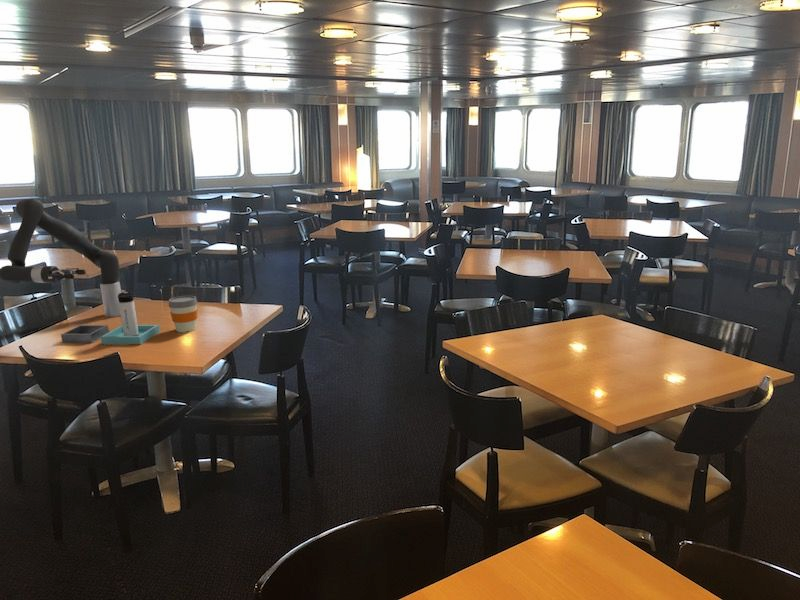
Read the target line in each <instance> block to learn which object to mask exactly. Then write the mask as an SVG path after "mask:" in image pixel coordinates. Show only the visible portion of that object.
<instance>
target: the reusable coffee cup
mask: <svg viewBox="0 0 800 600" xmlns="http://www.w3.org/2000/svg"><path fill="white" fill-rule="evenodd" d="M197 304H198V301H197V296H195V295H181V296H175V297H172V298H169V299H168V307H169V309H170V315H171V320H172V322H173V324H174V327H175V332H177V331H178V332H177V333H181V332H183V333H188V332H187V331H191V332H193V331H192V330H194V329H195V330H197V319H198V308H197ZM195 330H194V331H195Z"/></svg>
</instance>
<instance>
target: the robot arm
mask: <svg viewBox="0 0 800 600" xmlns="http://www.w3.org/2000/svg"><path fill="white" fill-rule="evenodd" d="M15 205H16V206H15V211H16V213H17V214H18V216H19V217H21V218H22V219H21V223H20V226H19V228H18V230H17V232H16V234H15V235H14V237H13V239H12V241H11V243H10V246H9V250H8V253H7V260H8V261H10V262H11V265H9V264H7V265H4V266H2V267H1V268H0V280H2V281H4V282H8V283H11V284H15V285H18V284H20V283H22V282H23V283H24V282H25V283H39V284H40V283H42V284H50V283H51V284H53V283H54V284H56V283H58V282H59V281H60V282H61V281H62V280H73V279H75V276H78V275H81V276H83V275H86V273H87V271H86V269H80V268H79V267H75V268H74V267H73V268H72V267H71V268H69V267H68V268H67V267H66V268H61V269H59V268H58V267H57V266H56V265H38V266H26V258H27V255H28V251H29V248H30V244H31V242H32V239H33V235H34V233H35V231H36V229H37V227H39V228H40V229H42V230H44V231H45V232H46V233H47V234H48V235H50V236H52V237H53V238H55V239H56V240H57V241H59V242H60V243H61V244H64V245H65V246H66V247H68V248H69V249H71V250H74V251H75V252H77V253H79V254H80V255H82V256H84V258H86V259H88V260H89V261H90V262H91V263H93V265H95V267H97V268H98V269H100V277H99V280H98V281H99V287H100V292H101V298H102V304H103V310H104V311H103V312H104V316H105V317H106V318H113V317H121V314H120V307H119V300H118V295H119V293H122V289H121V282H120V276H121V271H120V262H119V258H118V256H117V255H116V254H115V253H114V252H111V251H107V250H104V249H102V248H100V247H98V246H97V245H95V244H94V243H92V242H91V241H90V239H88V238H87V236H85V235H84V234H83V233H82V232H81V231H80V230H78V229H77V228H76V227H74V226H73V225H71V224H70V223H67V222H65V221H64V220H61V219H59V218H57V217H53V216H51V215H50V214H48V213H47V212H46V211H44V210H45V208H44V204H43V203H42V202H41V200H39V199H38V198H26V199H25V198H24V199H22V200H19V201H18V202H17V203H16V204H15Z"/></svg>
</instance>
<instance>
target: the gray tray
mask: <svg viewBox="0 0 800 600" xmlns="http://www.w3.org/2000/svg"><path fill="white" fill-rule="evenodd" d="M109 332H110V331H109V325H108V324H101V325H100V324H90V325H89V324H80V325H77V326H75V327H73V328H70V329H69V330H67V331H65V332H63V333H61V334H60V337H61V342H62V344H93V343H95V342H96V341H98V340H101V337H102V336H103V335H105V334H107V333H109ZM94 341H95V342H94ZM92 342H93V343H92Z"/></svg>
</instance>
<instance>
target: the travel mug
mask: <svg viewBox="0 0 800 600" xmlns="http://www.w3.org/2000/svg"><path fill="white" fill-rule="evenodd" d="M118 300H119V307H120V314H121V315H120V320H121V325H122V327H123V334H124V336H139V333H138V326H137V325H138V319H137V313H136V306H135V305H136V304H135V299H134V294H133V293H130V292H129V293H128V292H121V293H119V295H118Z"/></svg>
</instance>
